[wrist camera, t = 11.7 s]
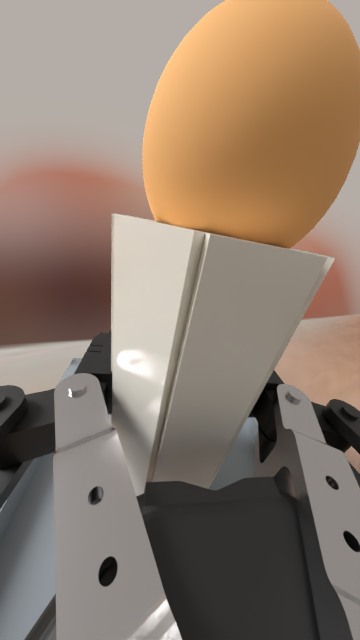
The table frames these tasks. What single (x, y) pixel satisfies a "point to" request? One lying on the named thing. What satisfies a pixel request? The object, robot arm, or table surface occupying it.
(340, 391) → the table surface
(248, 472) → the tray
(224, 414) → the white hexagonal prism
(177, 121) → the ball
